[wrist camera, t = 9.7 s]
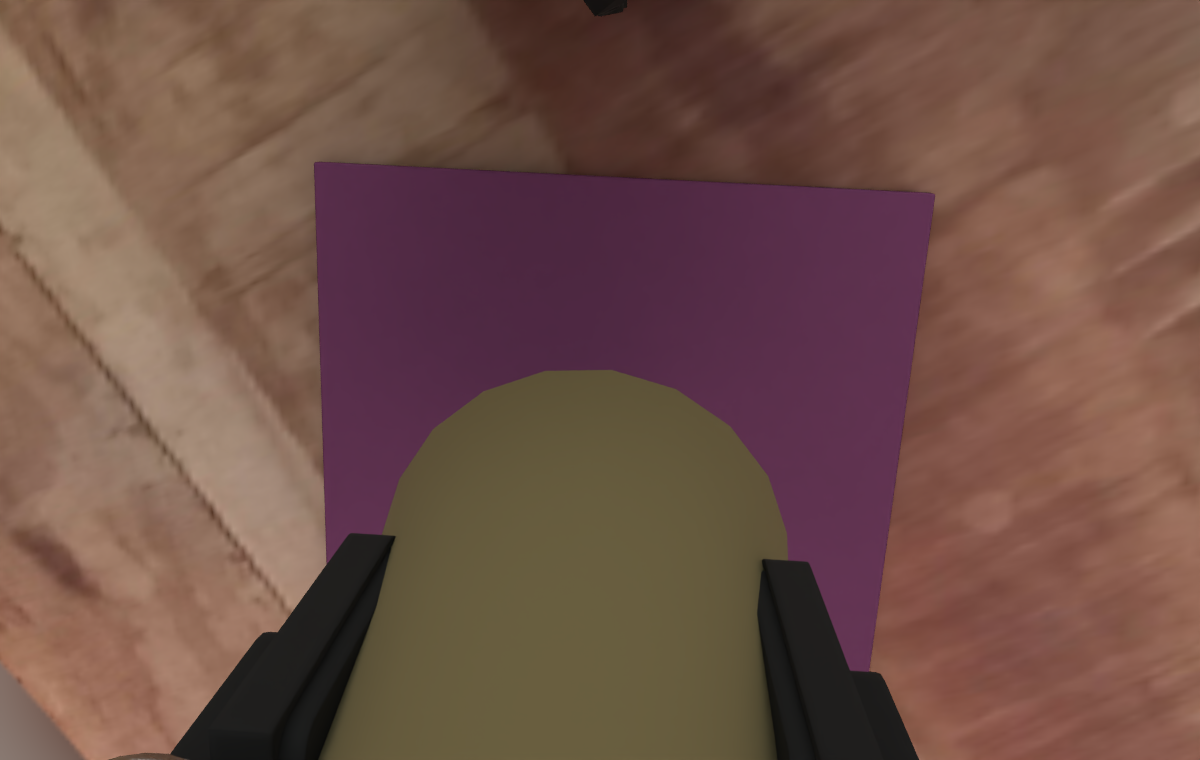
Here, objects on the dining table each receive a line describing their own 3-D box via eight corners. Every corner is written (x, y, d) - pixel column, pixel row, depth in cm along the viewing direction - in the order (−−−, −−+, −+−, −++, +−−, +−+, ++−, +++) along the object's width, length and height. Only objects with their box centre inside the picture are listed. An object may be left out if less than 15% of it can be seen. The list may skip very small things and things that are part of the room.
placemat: (318, 161, 25) (313, 162, 24) (931, 192, 24) (936, 194, 24) (338, 803, 30) (334, 812, 30) (842, 840, 30) (844, 849, 29)
